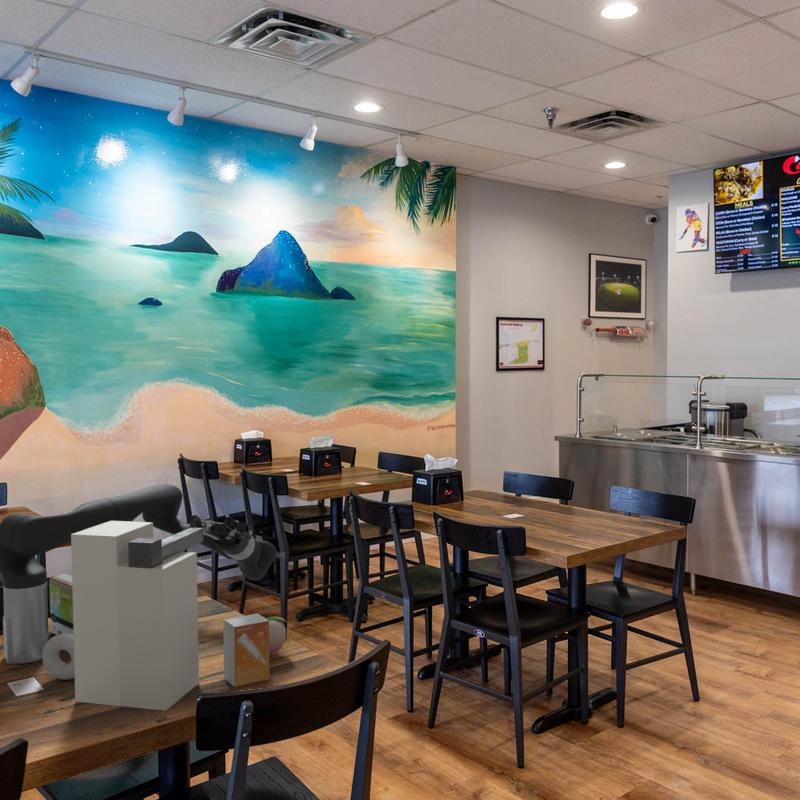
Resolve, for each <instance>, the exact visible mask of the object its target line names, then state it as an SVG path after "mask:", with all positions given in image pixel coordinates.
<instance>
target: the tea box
mask: <svg viewBox="0 0 800 800" xmlns="http://www.w3.org/2000/svg"><path fill="white" fill-rule="evenodd" d="M48 582H49V583H48V586H49V589H48V590H49V612H50V632H51V631H52V632H51V634H54V635H55V636H56V635H58V634H65V633H66V634H70V635H74V627H73V589H72V571H71V572H68V573H63V574H58V575H54V576H49V577H48Z"/></svg>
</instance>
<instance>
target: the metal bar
mask: <svg viewBox="0 0 800 800" xmlns="http://www.w3.org/2000/svg"><path fill="white" fill-rule="evenodd" d="M201 542H203V528H189V529H186V530H184V531H182V532H179V533H177V534H175V535H173V534H171V536H167V537H166V538H163V539H162V538H155V537H153V538H137V539H134V540H132V541H129V542H128V558H129V567H133V568H151V569H152V568H154V567H156V566H158V565H160V564H162V561H164V560H166V559H168V558H170V557H172V556H174V555H176V554H178V553H180V552H185V551H187V550H189V549H191V548H193V547H196V546H197V545H200V544H199V543H201Z"/></svg>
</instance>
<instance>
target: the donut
mask: <svg viewBox="0 0 800 800" xmlns="http://www.w3.org/2000/svg"><path fill="white" fill-rule="evenodd" d="M60 651H65V652H67V653H69V655H70V661H69V663H67V662H64V661H63V660H61V658H60ZM41 660H42V664H43V666H44V668H45V670H46V671H47V673H48V674H49V675H50V676H52V677H54V678H56V679H58V680H63V681H67V680H72V679H75V666H74V635H70V634H66V633H65V634H58V635H56V634H55V635H54V636H52V637H51V638H50V639H49V641H48V642H47V643H46V644H45V647H44V649H43V654H42V659H41Z"/></svg>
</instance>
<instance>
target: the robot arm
mask: <svg viewBox="0 0 800 800" xmlns="http://www.w3.org/2000/svg"><path fill="white" fill-rule="evenodd" d="M183 496H184V495H183V492H182V490H181V489H180V488H179V487H177V486H176V485H172V484H168V483H165V484H164V483H163V484H162V483H161V484H156V485H151V486H147V487H146V488H141V489H139V490H137V491H134V492H131V493H126V494H121V495H118V496H113V497H105V498H101V499H96V500H91V501H88V502H84V503H83V504H80V505H79V506H77V507H76V508H75V509H73V510H71V511H69V512H65V513H62V514H53V515H35V514H30V513H29V514H26V513H19V512H17V513H12V514H9V515H7V516H5V517H3V519H2V520H1V522H0V576H1V578H2V587H3V588H2V589H3V616H2V629H3V631H2V632H3V633H2V634H3V635H2V636H3V657H4V660H5V663H6V664H7V665H11V664H28V663H34V662H37V661H40V660H42V654H43V649H44V647H45V644H46V643H47V642H48V641H49V640H50V639H49V607H48V606H49V603H48V598H49V596H48V572H47V570H46V568H45V567H44V566H43V565H42V564H41V563H40V562H39V561H38V559H37V557H36V556H39V555H43V554H45V553H48V552H51V551H52V550H53V551H54V550H55V549H58V548H60V547H63V546H65V545H69V544H71V534H73V533H76V532H79V531H82V530H85V529H88V528H91V527H94V526H97V525H100V524H103V523H106V522H109V521H129V522H134V521H135V520H136V519H137V518H138V517H139V516H142V519H143V522H152V523H153V528H155V529H157V530H161V531H163V532H166V533H168V534H171V535H175V534H177V533H179V532H182V531H184V530H186V529H189V528H203V542H201V543H199V544H198V545H201V546H204V547H205V548H207V549H209V550H211V551H213V552H215V553H217V554H218V555H220V556H222V557H224V558H226V559H227V560H235V561H236V564H237V566H238V569H239V571H240V572H241V573H242V575H243V576H244V577H246V579H248V580H252V581H259V580H261V579H263V578H264V577H265V575H266V574H267V572H268V571H269V569H270V567H271V565H272V563H273V562H274V560H275V558H276V556H277V549H276V547H275V546H274V544H272V543H271V542H269V541H267V540H263V539H258V538H255V537H254V536H252V534H253V531H254V529H253V527H251V526H250V524H249V523H248V522H246V521H241V522H240V521H239V520H236V519H234V518H232V517H231V516H230V515H226V516H225V519H224V522H217V521H214V520H211V519H207V520H204V519H202V518H201V517H199V516H198V515H197V514H193V513H192V514H191V516H190V517H189V522H188V523H186V522H183V521H182V520H180V519H178V515H179V512H180V509H181V506H182V502H183ZM141 514H142V515H141Z"/></svg>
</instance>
